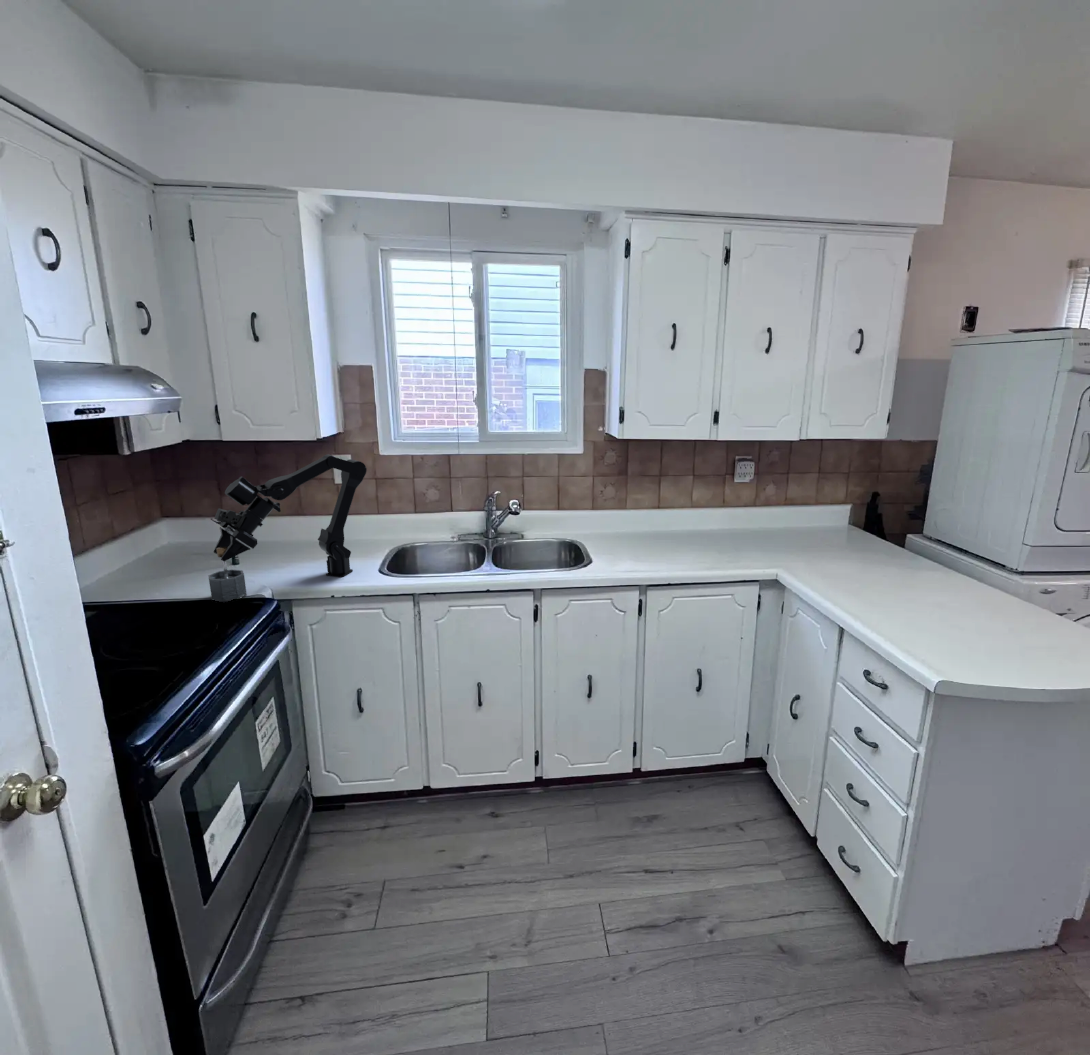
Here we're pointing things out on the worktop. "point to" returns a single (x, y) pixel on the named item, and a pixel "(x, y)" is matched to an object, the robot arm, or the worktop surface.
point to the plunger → (220, 553)
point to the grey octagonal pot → (227, 586)
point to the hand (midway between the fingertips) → (218, 556)
